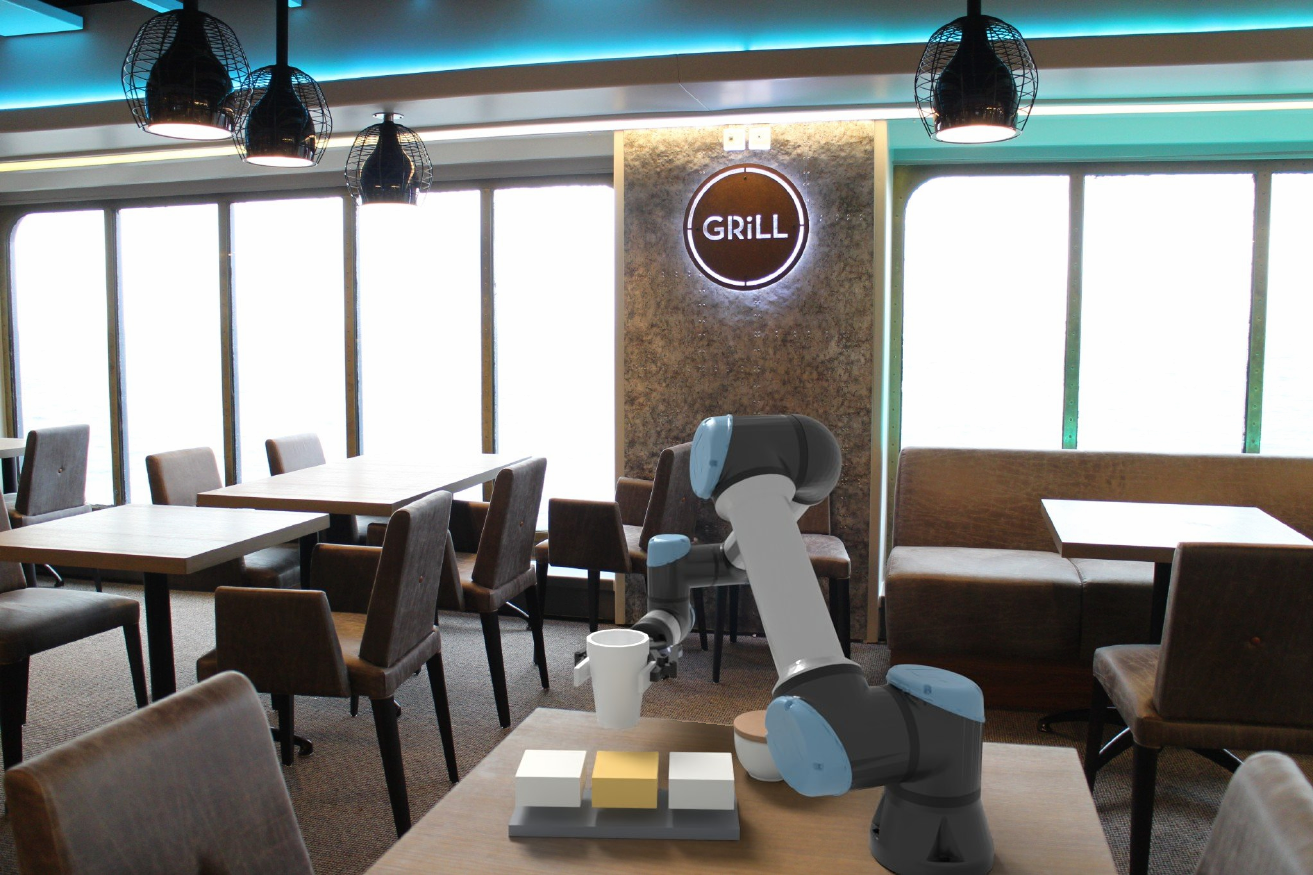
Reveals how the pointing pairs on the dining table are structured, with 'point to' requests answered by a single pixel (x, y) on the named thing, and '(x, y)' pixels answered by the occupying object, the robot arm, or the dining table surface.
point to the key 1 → (551, 778)
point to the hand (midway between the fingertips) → (608, 680)
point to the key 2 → (701, 781)
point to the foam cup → (617, 675)
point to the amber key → (625, 779)
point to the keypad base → (626, 821)
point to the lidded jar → (754, 746)
